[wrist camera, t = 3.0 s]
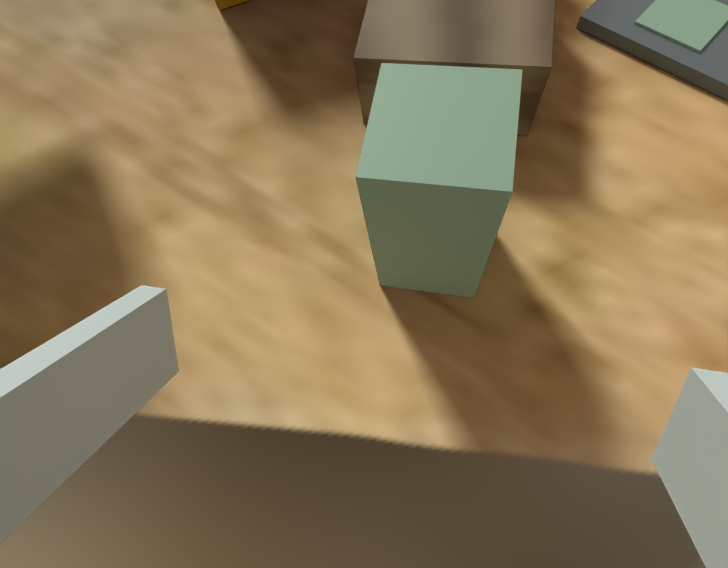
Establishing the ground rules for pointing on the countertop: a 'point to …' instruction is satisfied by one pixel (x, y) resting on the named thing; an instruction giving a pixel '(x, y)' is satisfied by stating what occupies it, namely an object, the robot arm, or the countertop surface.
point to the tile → (668, 36)
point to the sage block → (438, 172)
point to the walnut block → (458, 42)
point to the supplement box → (228, 3)
